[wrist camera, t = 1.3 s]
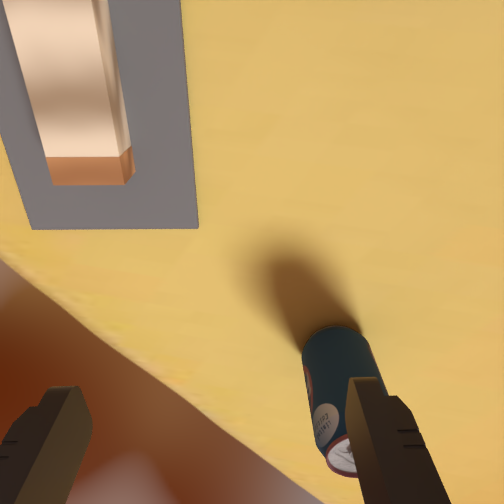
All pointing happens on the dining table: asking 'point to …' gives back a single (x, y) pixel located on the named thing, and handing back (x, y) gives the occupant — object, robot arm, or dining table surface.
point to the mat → (139, 124)
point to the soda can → (335, 389)
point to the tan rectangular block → (74, 88)
